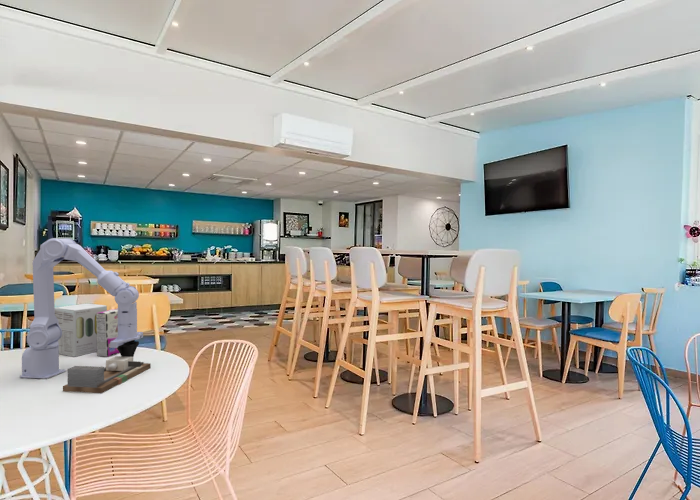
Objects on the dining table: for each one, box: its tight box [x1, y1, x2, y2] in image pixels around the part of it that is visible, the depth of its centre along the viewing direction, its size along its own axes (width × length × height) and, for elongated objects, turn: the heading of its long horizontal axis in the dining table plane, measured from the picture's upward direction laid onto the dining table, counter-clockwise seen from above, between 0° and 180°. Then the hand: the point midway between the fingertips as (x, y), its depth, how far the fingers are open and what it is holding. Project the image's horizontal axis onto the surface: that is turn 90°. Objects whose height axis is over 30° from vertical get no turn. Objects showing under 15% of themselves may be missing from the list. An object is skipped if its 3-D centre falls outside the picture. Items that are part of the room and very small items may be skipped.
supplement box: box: [55, 302, 108, 358], centre depth 165 cm, size 13×13×18 cm
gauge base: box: [62, 361, 152, 394], centre depth 133 cm, size 12×24×2 cm, turn 174°
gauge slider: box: [105, 355, 141, 371], centre depth 136 cm, size 10×7×3 cm
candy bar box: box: [96, 307, 120, 358], centre depth 163 cm, size 11×5×16 cm, turn 168°
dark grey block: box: [66, 365, 105, 388], centre depth 122 cm, size 9×3×5 cm, turn 84°
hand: (127, 364), depth 141 cm, fingers closed
